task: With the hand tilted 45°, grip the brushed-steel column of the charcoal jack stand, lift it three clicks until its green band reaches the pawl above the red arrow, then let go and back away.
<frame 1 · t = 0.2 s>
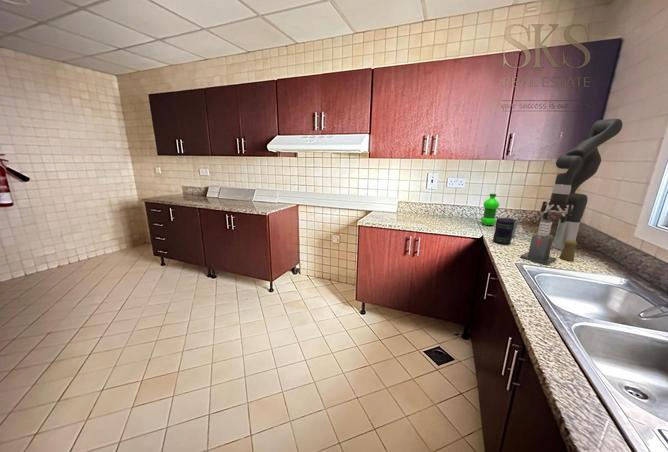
hand: (553, 221, 148), 18 cm above the worktop, tool pointing down, fingers open, 8 cm apart
storage jar: (501, 242, 167), on the worktop
column: (542, 238, 137), point 12 cm above the worktop, slide at 0.0 cm
cork: (566, 259, 141), on the worktop
plastic bottle: (487, 225, 209), on the worktop
stand base: (537, 259, 140), on the worktop
drinking glass: (506, 236, 181), on the worktop
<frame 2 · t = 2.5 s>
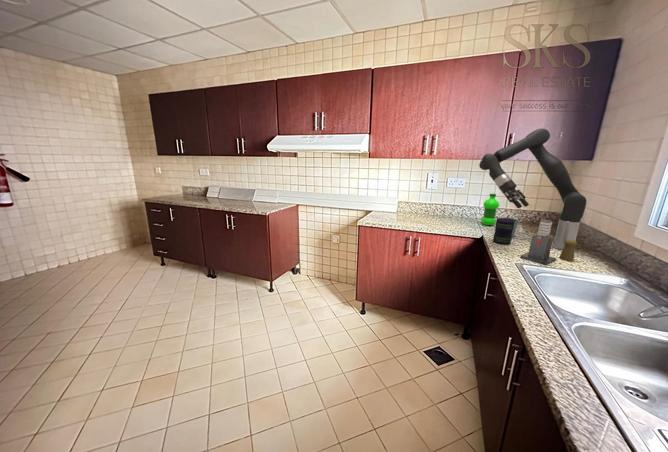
hand: (523, 206, 142), 27 cm above the worktop, tool tilted 45°, fingers open, 8 cm apart
nothing on the worktop moved.
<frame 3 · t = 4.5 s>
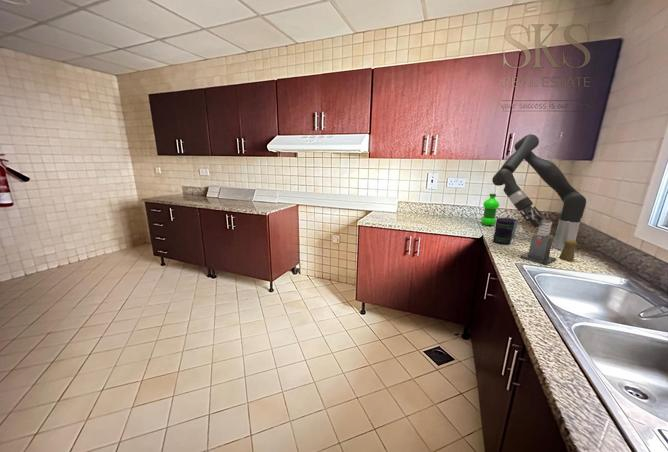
hand: (540, 225, 137), 19 cm above the worktop, tool tilted 45°, fingers open, 8 cm apart
nothing on the worktop moved.
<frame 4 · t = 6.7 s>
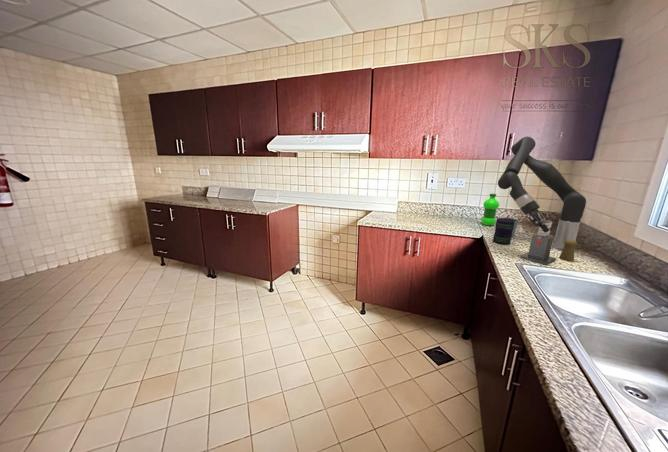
hand: (548, 230, 134), 17 cm above the worktop, tool tilted 45°, fingers closed on column, 4 cm apart
column: (542, 238, 137), point 12 cm above the worktop, slide at 0.0 cm, touching gripper
everything else where it was.
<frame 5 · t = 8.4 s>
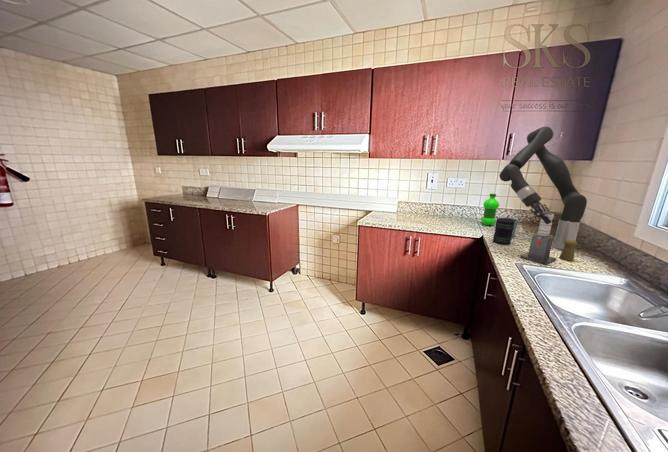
hand: (550, 222, 133), 21 cm above the worktop, tool tilted 45°, fingers closed on column, 4 cm apart
column: (544, 230, 136), point 16 cm above the worktop, slide at 4.4 cm, touching gripper
everything else where it was.
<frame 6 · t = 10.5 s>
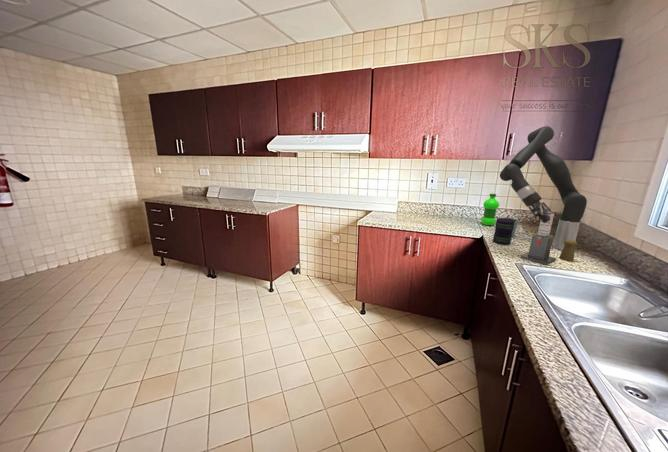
hand: (549, 221, 133), 22 cm above the worktop, tool tilted 45°, fingers open, 8 cm apart
column: (544, 230, 136), point 16 cm above the worktop, slide at 4.5 cm
everything else where it was.
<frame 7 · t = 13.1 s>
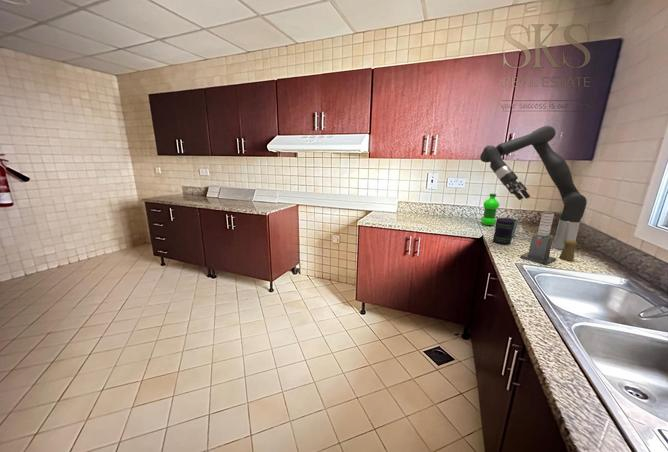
hand: (525, 198, 141), 32 cm above the worktop, tool tilted 45°, fingers open, 8 cm apart
nothing on the worktop moved.
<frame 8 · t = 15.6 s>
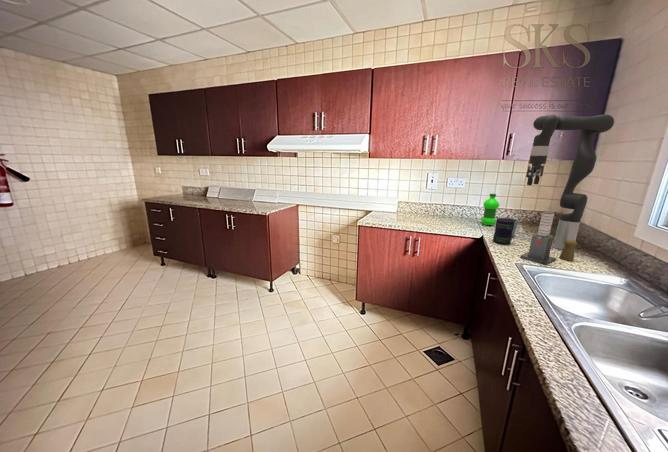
hand: (532, 184, 146), 38 cm above the worktop, tool pointing down, fingers open, 8 cm apart
nothing on the worktop moved.
at the end: column slide at 4.5 cm; the gripper is holding nothing; cork moved 0.2 cm from its start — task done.
